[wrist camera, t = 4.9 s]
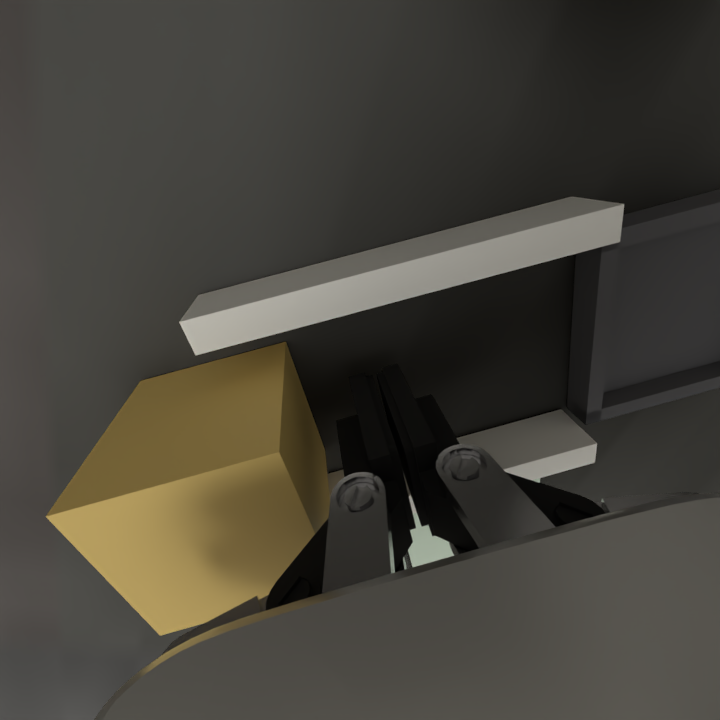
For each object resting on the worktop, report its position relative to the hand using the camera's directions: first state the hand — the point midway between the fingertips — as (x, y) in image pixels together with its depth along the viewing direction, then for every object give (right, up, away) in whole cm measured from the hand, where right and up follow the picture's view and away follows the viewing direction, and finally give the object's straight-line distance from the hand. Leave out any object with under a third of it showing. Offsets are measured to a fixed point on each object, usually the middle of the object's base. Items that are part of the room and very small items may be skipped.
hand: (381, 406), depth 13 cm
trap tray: (+11, +4, +2) cm, 11 cm away
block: (-5, -1, +1) cm, 5 cm away
